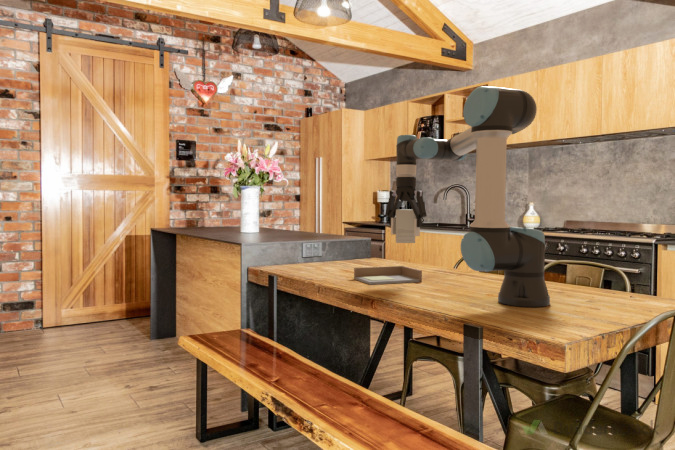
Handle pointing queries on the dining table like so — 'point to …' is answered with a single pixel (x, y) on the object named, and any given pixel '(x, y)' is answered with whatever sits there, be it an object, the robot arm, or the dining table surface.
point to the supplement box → (405, 226)
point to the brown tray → (388, 274)
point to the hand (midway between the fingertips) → (405, 235)
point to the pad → (378, 278)
